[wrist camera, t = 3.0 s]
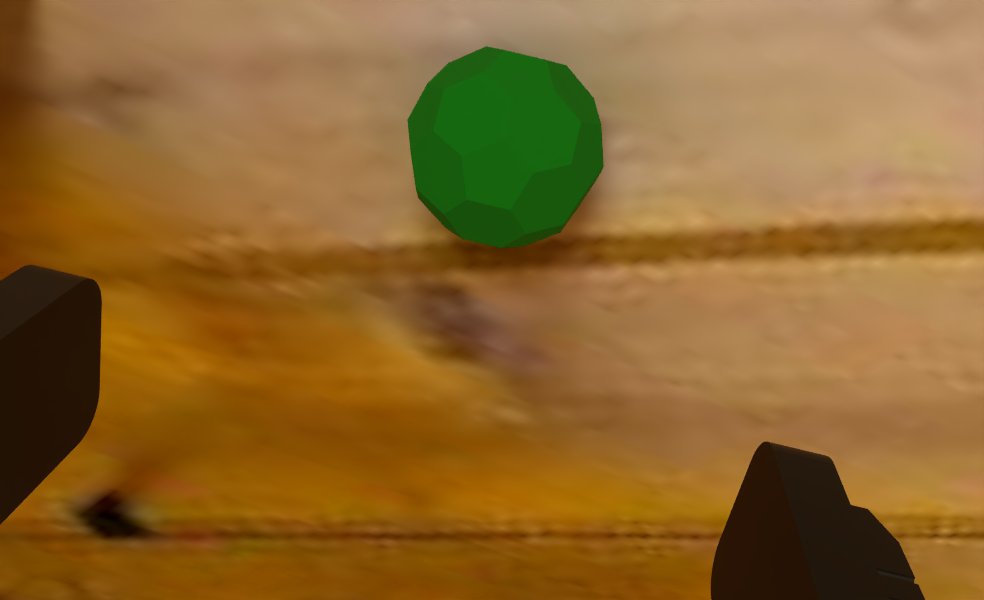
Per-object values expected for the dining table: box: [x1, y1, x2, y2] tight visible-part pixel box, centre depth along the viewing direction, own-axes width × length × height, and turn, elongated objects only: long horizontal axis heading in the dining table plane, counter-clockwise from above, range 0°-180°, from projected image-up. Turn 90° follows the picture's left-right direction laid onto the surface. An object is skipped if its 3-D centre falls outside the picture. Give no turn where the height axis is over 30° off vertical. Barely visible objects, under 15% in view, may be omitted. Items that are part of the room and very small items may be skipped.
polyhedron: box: [408, 47, 603, 248], centre depth 23 cm, size 5×5×5 cm
